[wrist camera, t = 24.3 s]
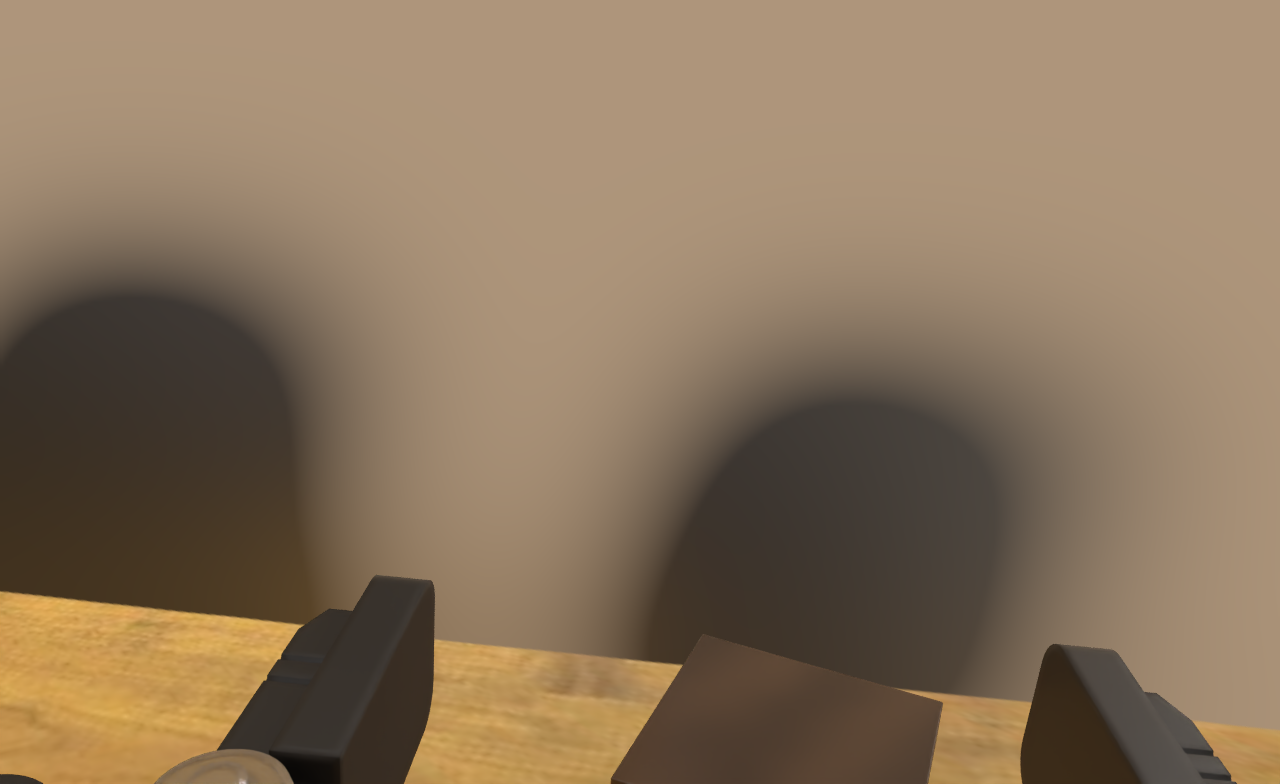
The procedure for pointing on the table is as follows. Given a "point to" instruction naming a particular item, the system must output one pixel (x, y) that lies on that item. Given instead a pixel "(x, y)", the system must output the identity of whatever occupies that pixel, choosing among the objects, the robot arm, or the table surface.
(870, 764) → the stand
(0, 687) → the table surface
